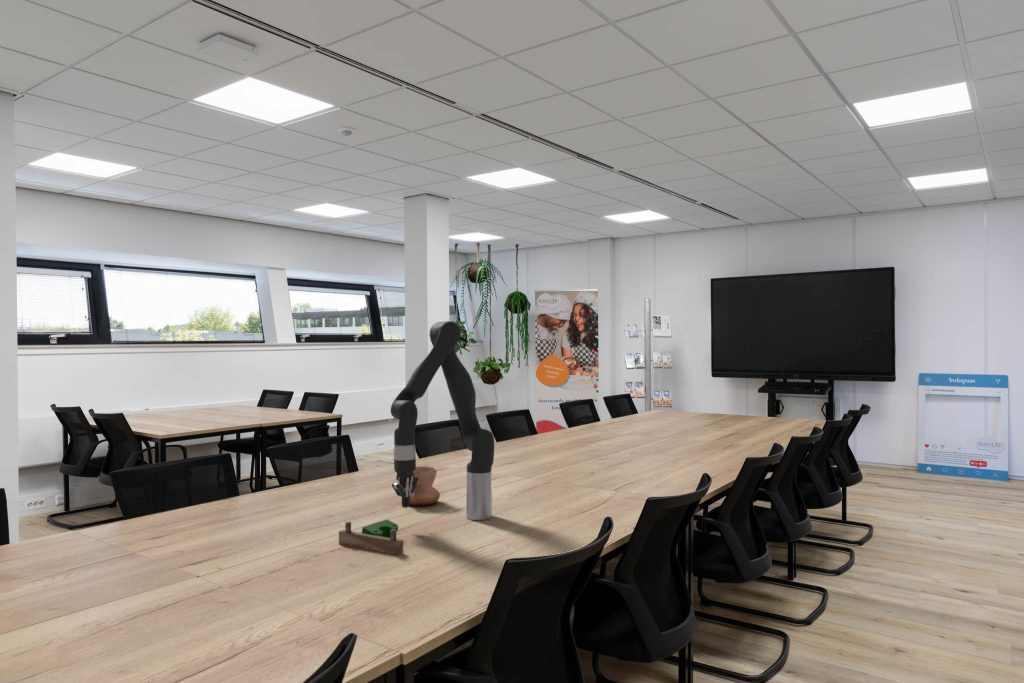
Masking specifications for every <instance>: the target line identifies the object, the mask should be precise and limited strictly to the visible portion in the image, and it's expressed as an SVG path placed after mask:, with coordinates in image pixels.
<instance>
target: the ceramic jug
mask: <svg viewBox="0 0 1024 683" xmlns="http://www.w3.org/2000/svg"><path fill="white" fill-rule="evenodd" d="M437 471H438V468H437V467H435V466H429V465H419V466H416V470H415V471H413V472H414V476H415V477H418V481H417V484H416V487H415V489H414V492H413V493H411V495H410V505H412V506H420V505H422V506H430V505H433V504H435V503H436V502H438V500H440V497H441V494H440V491H439V490H438V489H437V488H435V487H433V485H434V481H435V480H436V476H437Z"/></svg>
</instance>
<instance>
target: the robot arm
mask: <svg viewBox="0 0 1024 683" xmlns="http://www.w3.org/2000/svg"><path fill="white" fill-rule="evenodd" d="M461 337H462V330H461V327H460V325H459V324H458V323H456V322H455V321H449V320H446V321H439V322H436V323H434V324H432V325H431V326H430V329H429V338H430V339H429V340H430V342H431V344H432V348H431V350H430V351H429V353H428V354H427V355H426V357H424V358H423V360H422V361H421V362H420V363H419V365H418V366H417V367H416V368H415V369H414V371H413V372H412V374H411V376H410V378H409V379H408V381H407V382H406V383H407V384H406V385H405V387H404V388H403V389H402V390H401V391H400V392H399V393H398V395H397V396H396V397H395V399H393V402H392V403H391V405H390V414H391V416H392V417H393V418H394V419H396V420H399V421H398V427H396V428H395V429H394V434H393V435H394V438H393V440H394V441H393V444H394V446H393V471H394V472H395V473H396V476H395V479H396V481H395V482H393V483H391V487H392V488H393V490H394V493H395V494H396V496H397V497H401V507H402V508H405V509H407V508H409V507H410V505H411V504H410V495H411V493H413V492H414V489H415V487H416V484H417V481H418V477H415V476H414V472H413V471H415V470H416V467H417V455H416V454H417V453H416V452H417V450H416V439H415V438H416V437H415V430H416V427H417V422H418V407H417V405H416V403H415V402H416V401H417V400H418V399H421V398H423V396H424V395H425V394H426V392H427V390H428V388H429V386H430V384H431V382H432V380H433V379H434V377H435V376H436V373H438V370H439V369H440V367H441V369H442V370H441V371H442V373H443V376H444V379H445V382H446V386H447V389H448V392H449V395H450V398H451V401H452V403H453V407H454V409H455V413H456V416H457V419H458V422H459V426H460V431H461V437H462V441H463V444H464V446H465V448H466V449H467V450H469V451H470V452H471V459H470V461H469V462H468V463H467V464H466V518H467V519H468V520H472V521H484V520H489V519H491V518H492V512H493V510H492V509H493V508H492V507H493V505H492V504H493V499H492V498H493V492H492V469H493V468H492V466H493V464H494V461H495V460H494V457H495V438H494V434H493V433H492V432H491V431H490V430H488V429H485V428H482V426H481V425H480V423H479V422H480V421H479V420H478V416H477V413H476V403H477V401H476V400H477V396H476V395H477V394H476V388H475V386H474V383H473V380H472V376H471V375H470V373H469V372H468V369H467V368H466V367H465V365H464V364H463V363H462V361H461V360H460V358H459V357H458V354H457V353H456V352H457V351H456V348H455V347H456V346H457V344H458V342H459V341H460V339H461Z"/></svg>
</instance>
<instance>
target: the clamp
mask: <svg viewBox="0 0 1024 683" xmlns="http://www.w3.org/2000/svg"><path fill="white" fill-rule="evenodd" d="M392 529H396V532H398V530H399V524H397V523H395V522H393V521H391V520H390V519H385V520H381V521H378V522H375V523H371V524H368V525H364V526H362V530H361V533H364V534H370V535H376V536H382V537H387V538H390V530H392Z"/></svg>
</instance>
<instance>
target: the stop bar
mask: <svg viewBox="0 0 1024 683" xmlns="http://www.w3.org/2000/svg"><path fill="white" fill-rule="evenodd" d="M344 528H345V529H341V530H339V531H338V544H339V543H340V544H339V545H343V544H345V545H344V546H348V545H352V546H351V547H353V546H356V547H355V548H359V547H362V548H361V549H364V548H368V549H367V550H369V549H373V550H372V551H375V550H379V551H378V552H380V551H384V552H383V553H385V552H388V553H387V554H391V553H393V554H392V555H396V554H398V556H400V555H403V554H404V540H403V539H397V531H396V529H392V530H390V538H387V537H382V536H376V535H370V534H364V533H362V532H357V531H353V530H352V522H351V521H346V522H345V527H344ZM402 553H403V554H402Z"/></svg>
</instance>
